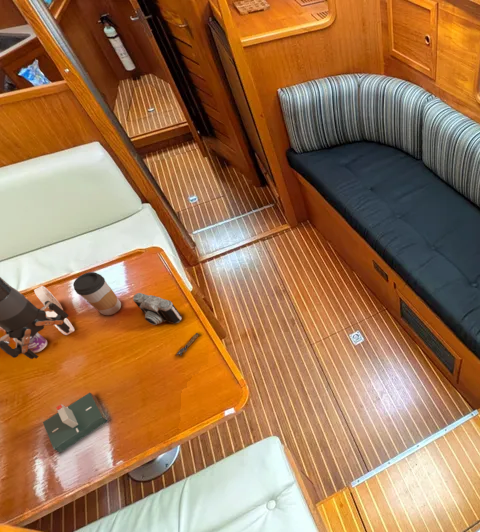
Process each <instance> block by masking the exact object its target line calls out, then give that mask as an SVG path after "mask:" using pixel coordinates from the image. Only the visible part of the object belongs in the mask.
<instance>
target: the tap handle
mask: <svg viewBox="0 0 480 532" xmlns="http://www.w3.org/2000/svg"><path fill="white" fill-rule="evenodd" d="M67 407H68V406H65V405H64V404H63V403H61V404H59V405H58V406H55V409H56V411H57V413H59V416H60V418H61V420H62V422H63V423H65V424H67V425H68V426H70V427H72V428H74V427H75V426H77V425H78V423H77V421H76V418H75V416H74V414H73V412H72V410H70V409H69V408H67Z"/></svg>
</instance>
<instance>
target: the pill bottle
mask: <svg viewBox="0 0 480 532" xmlns="http://www.w3.org/2000/svg"><path fill="white" fill-rule="evenodd" d="M12 339H13V341H14V342H15V343H16V341H15V338H12ZM47 346H48V340H47V339H46V338H45V337H44V336H43V335H42V334H40V333H39V332H37V334H36V335H34V336H33V337H30V343H29V344H28V349H30V350H31V351H32V352H34V353H35V354H37V353H39V352H42V350H44V349H45V348H46V347H47Z"/></svg>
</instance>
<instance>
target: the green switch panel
mask: <svg viewBox="0 0 480 532" xmlns="http://www.w3.org/2000/svg"><path fill="white" fill-rule="evenodd" d="M66 407H67V408H69V409H70V410H72V412H73V414H74V416H75V418H76V421H77V423H78V425H77V426H75V427H74V428H72V427H70V426H68V425H67V424H65V423H63V422H62V420H61V418H60V416H59V413H58V412H57V413H55V414H53V415H52V416H50V417H49V418H47V419H44V421H42V425H43V426H44V430H45V431H46V435H47V436H48V439H49V441H50V444H51V446H52V448H53V450H54V451H56V452H58V453H63V452H64V451H66V450H67V449H69V448H70V447H71V446H73V445H75V444H77V443H78V442H79V441H80V440H82V439H83V438H84V437H86V436H89V434H91V433H93V432H94V431H96V430H97V429H98V428H100V427H101V426H102V425H104V424H106V423H107V422H109V420H108V418H107V416H106V414H105V412H104V409H103V408H102V406H101V403H100V402H99V400H98V398H97V396H96V395H94V394H93V393H92V392H88V393H86V394H85V395H83V396H81V397H80V398H78V399H77V400H75V401H74V402H72V403H71V404H70V405H67V406H66Z"/></svg>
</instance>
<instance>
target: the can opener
mask: <svg viewBox="0 0 480 532" xmlns="http://www.w3.org/2000/svg"><path fill="white" fill-rule="evenodd" d="M199 335H200V334H199V333H198V332H196V333H195V334H194V335H193V336H192V337H191V339H190V340H189V341H188V342H187V343H186V344H185V346H184V347H182V348H180V349H179V350H178V351H177V353H176V356H180V357H181V356H182V355H183V353H186V352H187V350H188V348H189V347H190V346H191V345H192V344H193V342H195V341H196V340H197V338H198V337H199Z"/></svg>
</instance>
